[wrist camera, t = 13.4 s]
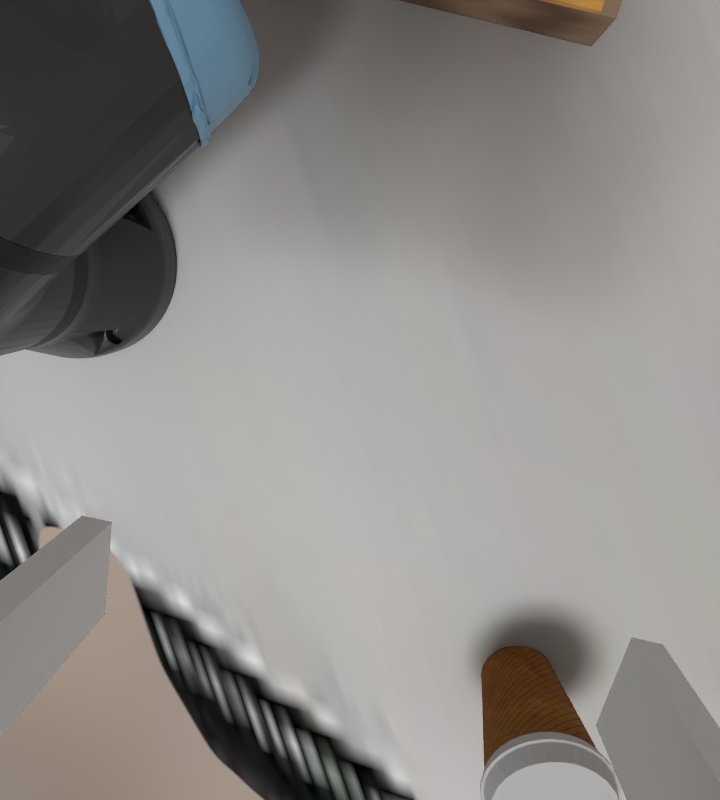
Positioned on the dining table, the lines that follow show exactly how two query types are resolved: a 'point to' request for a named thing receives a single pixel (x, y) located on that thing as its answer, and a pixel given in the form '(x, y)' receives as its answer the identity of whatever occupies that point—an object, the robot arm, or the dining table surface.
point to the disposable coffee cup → (536, 735)
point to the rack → (539, 15)
